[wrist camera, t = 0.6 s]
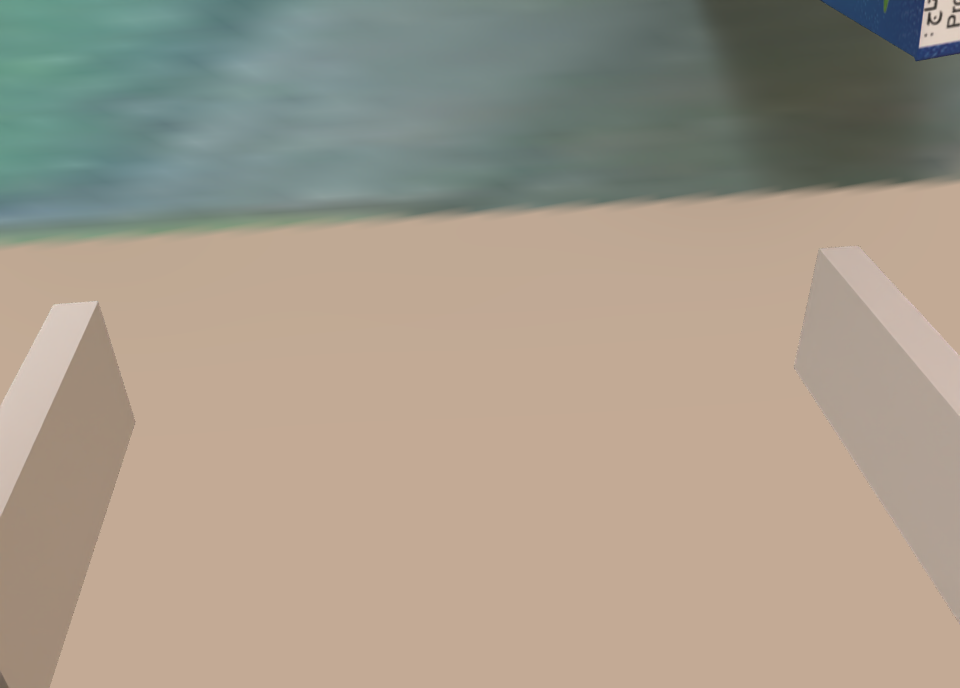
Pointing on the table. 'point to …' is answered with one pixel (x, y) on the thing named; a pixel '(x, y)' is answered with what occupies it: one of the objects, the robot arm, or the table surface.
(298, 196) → the table surface
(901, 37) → the blue food box
